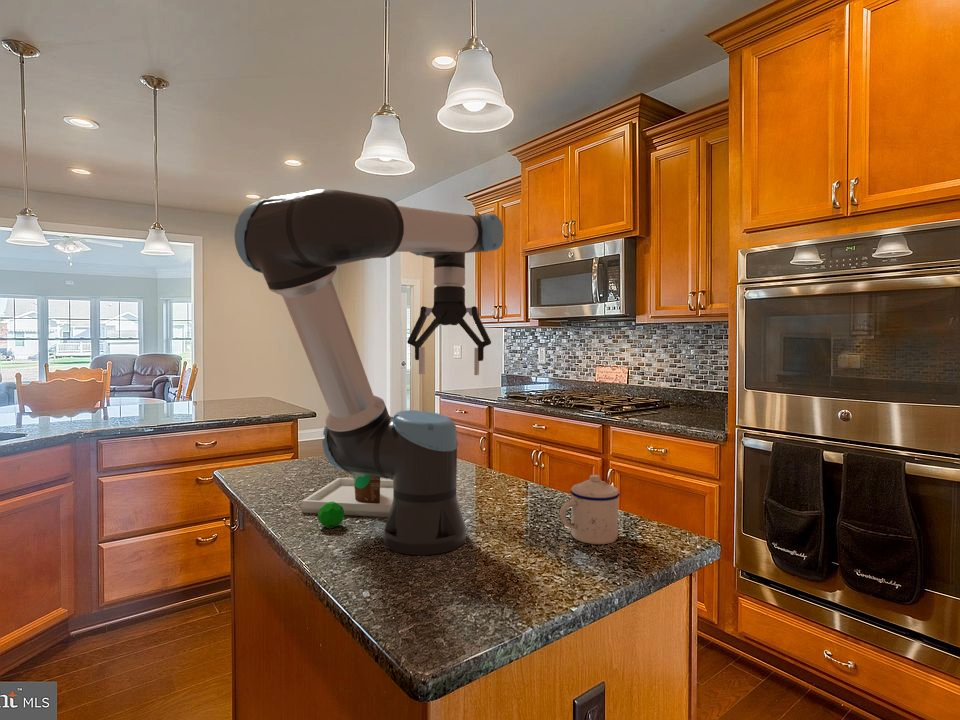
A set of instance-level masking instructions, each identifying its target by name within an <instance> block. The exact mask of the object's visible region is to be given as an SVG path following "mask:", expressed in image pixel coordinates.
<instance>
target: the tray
mask: <svg viewBox="0 0 960 720" xmlns="http://www.w3.org/2000/svg"><path fill="white" fill-rule="evenodd" d="M328 502H335V503H337V504H339V505H340V506H342V507H343V510H344V516H356V517H357V516H358V517H359V516H360V517H361V516H362V517H377V518H378V517H379V518H380V517H381V518H388V515H389V512H390V508H391V505H392V502H393V479H380V503H378V504H376V503H361V502H358V501H356V499H355V487H354V477H353V478H351V477H350V478H349V477H337V478H335V479H334V480H332V481H331V482H329V483H328V484H326V485H325V486H323V487H322V488H320V489H319V490H317V491H315V492H313V493H312V494H310V495H308V496H307V497H305V498H303V499H302V500H301V513H305V514H319V510H320V508H321V507H322V506H324V505H325V504H326V503H328Z"/></svg>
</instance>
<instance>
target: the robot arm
mask: <svg viewBox="0 0 960 720" xmlns="http://www.w3.org/2000/svg"><path fill="white" fill-rule="evenodd" d="M504 234H505V232H504V226H503V223H502V221H501V219H500V217H499V216H498V215H496V214H493V213H492V214H490V213H489V214H485V213H484V214H483V213H482V214H479V215H470V214H469V215H468V214H463V213H461V214H460V213H455V212H447V211H438V210H431V209H423V208H415V207H409V206H399V205H397V204H396V203H395V202H394V201H393V200H391V199H389V198H387V197H381V196H375V195H370V194H363V193H358V192H354V191H353V192H352V191H345V190H340V189H339V190H338V189H329V188H328V189H327V188H326V189H324V188H323V189H313V190H308V191H302V192H298V193H297V192H296V193H289V194H284V195H277V196H270V197H265V198H263V199H260V200H257V201H255V202H253V203H252V202H251V204H249V205H247V206H246V207H245V208H244V209H242V211H241V213H240V214H239V216H238V218H237V222H236V224H235V228H234V244H235V248H236V251H237V254H238V256H239V258H240V260H241V261H242V262H243V263H244V265H246V266H247V267H248V268H251V269H252V270H253V271H255V272H258V273H260V274H262V276H263V277H264V278H263V279H264V280H265V282H266V284H267V287H268V289H269V291H271V292H272V293H275V294H277V295H280V296H281V297H282V298H283V301H284V303H285V307H286V308H287V311H288V313H289V316H290V317H291V320H292V324H293V325H294V328H295V331H296V333H297V335H298V337H299V341H300V342H301V345H302V348H303V350H304V352H305V355H306V357H307V359H308V362H309V365H310V367H311V369H312V372H313V373H314V376H315V379H316V381H317V382H316V383H317V384H318V387H319V389H320V392H321V394H322V396H323V399H324V401H325V403H326V407H327V409H328V411H329V412H328V414H327V416H326V418H325V426H324V429H323V432H322V434H323V436H324V438H323V439H321V441H322V450H323V453H324V456H325V458H326V459H327V460H328V462H329V463H330V464H331V465H332V466H333V467H334V468H335V469H337V470H340V471H343V472H347V473H348V474H352V475H354V474H362V475H368V476H375V477H380V479H381V478H383V479H386V480H393V502H392V505H391V508H390V512H389V515H388V517H386V518H387V519H386V520H385V524H384V527H383V544H384V546H385V547H386V548H387V549H390V550H391V551H393V552H397V553H401V554H405V555H411V556H428V555H429V556H431V555H438V554H439V555H440V554H443V553H448V552H451V551H454V550H456V549H458V548H460V547H461V546H463V544H465V542H466V540H467V539H466V538H467V537H466V536H467V531H466V530H467V528H466V523H465V521H464V517H463V514H462V511H461V508H460V505H459V502H458V499H457V482H458V481H457V474H458V473H457V472H458V471H457V470H458V464H457V463H458V446H459V442H458V437H457V426H456V423H455V422H454V421H453V419H452V418H450V417H448V416H446V415H444V414H441V413H438V412H432V411H426V410H425V411H424V410H423V411H421V410H420V411H419V410H417V409H416V410H402V411H401V410H400V411H398V412H395V414H394V415H393V416H391V415H390V414H389V411H388V408H387V406H386V403H385V401H384V399H383V398H381V397H379V396H377V395H374V393H373V391H372V387H371V385H370V382H369V380H368V376H367V374H366V370H365V369H364V368H365V367H364V366H363V362H362V360H361V357H360V354H359V351H358V349H357V346H356V343H355V340H354V338H353V334H352V333H351V329H350V325H349V324H348V321H347V317H346V316H345V313H344V310H343V307H342V304H341V302H340V299H339V296H338V294H337V291H336V288H335V287H336V286H335V285H334V281H333V278H334V277H335V275H336V273H337V271H338V266H340V265H345V264H350V263H356V262H360V261H365V260H369V259H379V258H380V259H385V258H388V257H391V256H393V255H394V254H395V253H398V252H400V253H401V252H402V253H406V252H407V253H408V252H409V253H412V254H414V255H416V256H421V257H426V258H430V259H433V264H434V265H433V284H434V286H435V287H434V288H433V306H432V307H427V306H424V305H423V306H421V307H420V312H419V316H418V318H417V320H416V322H415V324H414V326H413V329H412V331H411V333H410V335H409V337H408V339H407V344H408V345H411V346H413V347H414V359H415V361H418V375H423V374H425V370H426V368H425V367H426V366H425V364H426V363H425V362H426V361H425V357H426V356H425V354H426V353H425V352H426V351H425V350H426V349H425V346H423V344H424V343H425V342H426V341H427V340H428V339H429V337H430V336H431V335H432V334H433V333H434V331H435V330H436V329H437V328H438V327H440V326H441V325H442V326H449V325H451V326H457V325H460V327H462V329H463V331H465V332H466V334H467V335H468V336H469V337H470V339H471V340H472V341H473V343H474V344H475V345H476V346H477V347H474V354H473V355H474V359H473V360H474V362H473V363H474V364H473V365H474V366H473V367H474V368H473V369H474V376H479V375H480V362H482V361H484V357H485V356H484V355H485V354H484V353H485V352H484V350H485V347H487V346H489V345H491V344H492V341H491V338H490V336H489V335H488V333H487V330H486V328H485V326H484V324H483V321H482V320H481V318H480V315H479V309H478V307H477V306H475V305H474V306H471V307H466V288H465V287H464V286H465V284H466V265H465V264H466V263H465V262H466V254H468V253H469V254H470V253H487V252H490V251H491V252H492V251H496V250H499V249H500V248H501V247H502V245H503V243H504V239H505V238H504V236H505V235H504ZM431 313H432V314H433V316H434V317H435V318H434V319H433V320H432V321H431V323H430V325H429V326H428V327H427V328H426V329H425V330H424V331H423V333H422V334H421V335H420V333H421V330H422V329H423V327H424V325H425V322H426V320H427V317H428V316H430V314H431ZM467 313H468V315H469V316H470V317H472V319H473V321H474V323H475V325H476V327H477V329H478V331H479V334H480V335H481V338H482V340H483V341H482V340H481V339H480V337H479V336H478V335H477V334H476V333H475V331H473V329H472V328H471V326H470V325H469V324H468V323H467V321H466V320H465V319H464V318H465V316H466V315H467ZM419 335H420V336H419ZM418 337H419V338H418ZM422 346H423V347H422Z"/></svg>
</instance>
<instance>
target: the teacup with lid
mask: <svg viewBox="0 0 960 720" xmlns="http://www.w3.org/2000/svg"><path fill="white" fill-rule="evenodd" d="M570 494H571V500H570V501H569V500H568V501H566V502H565V503H563V504H562V506H561V507H560V511H559V517H560V521H561V522H562V524H563V525H564V526H565V527H567V528H569V529H570V533H571V534H570V535H571V536H572V537H573V538H574V539H575V540H577V541H579V542H581V543H585V544H590V545H606V544H612V543H615V541H616V540H617V539H618V536H619V535H618V533H619V532H618V529H619V528H618V527H619V497H620V491H619V489H618V488H617V487H616V486H613V485H611V484H608V483H607V482H606V481H603V480H601V476H600V475H599V474H591V475H590V476H589V479H586V480H584V481H583V482H580V483H576V484H573V486H572V487H571V489H570ZM570 507H571V508H570ZM569 508H570V509H571V510H570V511H571V514H570V515H571V516H570V517H571V521H570V522H571V523H569V522H568V519H567V517H566V513H567V511H568V509H569Z"/></svg>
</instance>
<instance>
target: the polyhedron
mask: <svg viewBox="0 0 960 720" xmlns="http://www.w3.org/2000/svg"><path fill="white" fill-rule="evenodd" d="M344 517H345V515H344V510H343V507H342V506H340V505H339V504H337V503H335V502H328V503H326V504H325V505H324V506H322V507H321V508H320V510H319V513H317V519H318V521H319V524H321V525H323V526H324V527H325V528H328V529H333V528H334V527H335V528H336V527H338V526H339V525H340V524H341V523H342V522H343V520H344Z"/></svg>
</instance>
